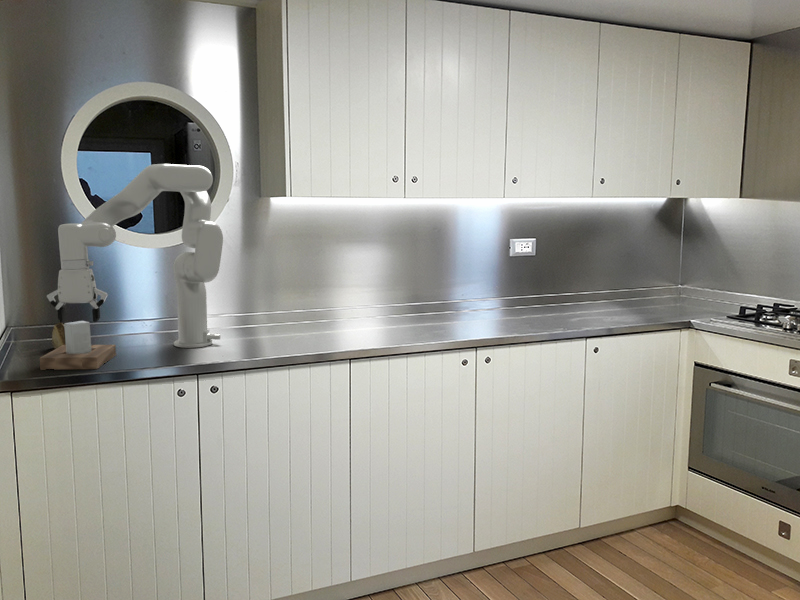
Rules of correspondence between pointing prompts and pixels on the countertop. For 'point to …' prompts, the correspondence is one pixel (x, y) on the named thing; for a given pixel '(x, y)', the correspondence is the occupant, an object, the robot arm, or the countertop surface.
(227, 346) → the countertop surface
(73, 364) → the walnut holder
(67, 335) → the skincare box
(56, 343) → the rock
